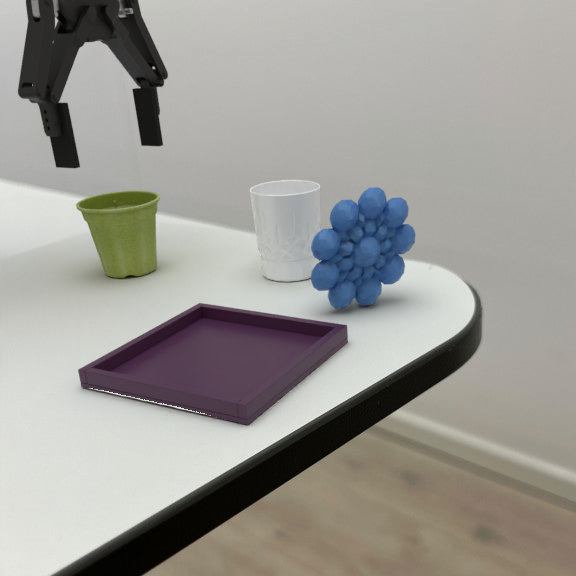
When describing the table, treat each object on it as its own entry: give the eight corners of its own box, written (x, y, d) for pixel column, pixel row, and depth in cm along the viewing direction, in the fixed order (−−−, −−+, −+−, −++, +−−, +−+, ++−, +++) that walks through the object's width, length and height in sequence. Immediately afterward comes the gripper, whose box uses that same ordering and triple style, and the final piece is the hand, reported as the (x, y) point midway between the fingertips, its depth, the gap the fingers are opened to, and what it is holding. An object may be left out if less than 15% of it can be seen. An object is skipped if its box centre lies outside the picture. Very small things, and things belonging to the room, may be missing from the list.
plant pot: (131, 288, 87) (118, 212, 83) (73, 277, 91) (58, 205, 87) (186, 264, 94) (176, 193, 90) (130, 255, 98) (118, 188, 95)
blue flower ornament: (395, 283, 85) (393, 174, 80) (426, 302, 79) (426, 185, 74) (297, 303, 80) (289, 188, 75) (323, 324, 75) (315, 201, 70)
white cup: (305, 287, 85) (298, 197, 80) (244, 279, 88) (235, 192, 84) (336, 266, 91) (332, 181, 87) (279, 259, 94) (272, 178, 90)
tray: (81, 387, 64) (77, 369, 63) (201, 318, 77) (199, 302, 77) (248, 425, 57) (245, 405, 56) (348, 342, 70) (347, 325, 70)
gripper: (0, -68, 66) (53, 179, 75) (181, -55, 86) (205, 138, 95) (-58, -60, 69) (-1, 176, 78) (129, -50, 89) (158, 137, 98)
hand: (113, 156), depth 87 cm, fingers open, 13 cm apart
